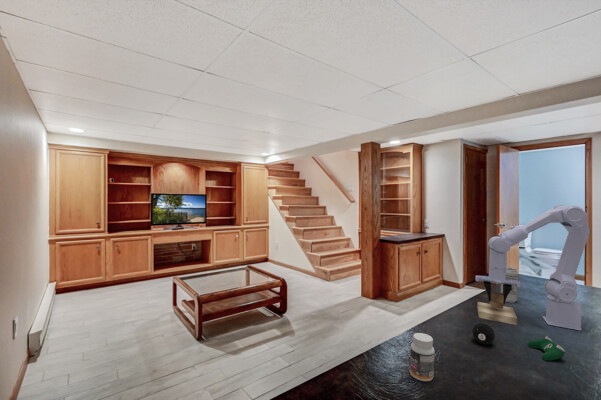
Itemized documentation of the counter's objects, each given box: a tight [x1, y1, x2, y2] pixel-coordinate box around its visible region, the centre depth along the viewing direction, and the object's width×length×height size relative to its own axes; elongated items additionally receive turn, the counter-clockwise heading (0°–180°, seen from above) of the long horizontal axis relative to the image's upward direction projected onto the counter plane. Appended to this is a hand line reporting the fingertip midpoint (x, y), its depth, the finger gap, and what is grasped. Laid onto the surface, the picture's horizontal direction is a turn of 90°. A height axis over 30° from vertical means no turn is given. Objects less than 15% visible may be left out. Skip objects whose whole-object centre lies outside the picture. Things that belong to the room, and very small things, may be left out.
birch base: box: [476, 301, 518, 326], centre depth 117 cm, size 12×12×3 cm
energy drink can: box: [500, 266, 519, 304], centre depth 135 cm, size 6×6×15 cm
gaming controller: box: [527, 335, 566, 361], centre depth 88 cm, size 9×4×6 cm
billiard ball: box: [471, 322, 496, 345], centre depth 94 cm, size 6×6×6 cm
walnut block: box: [489, 290, 504, 309], centre depth 117 cm, size 4×4×5 cm
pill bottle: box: [409, 332, 436, 382], centre depth 76 cm, size 6×6×10 cm
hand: (496, 302), depth 117 cm, fingers closed on walnut block, 4 cm apart
